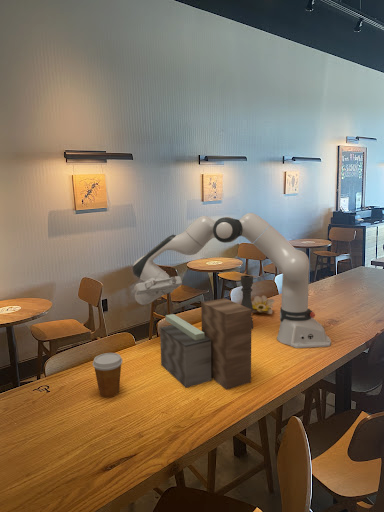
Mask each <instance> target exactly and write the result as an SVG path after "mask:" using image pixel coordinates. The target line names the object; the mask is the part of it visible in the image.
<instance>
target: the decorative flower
mask: <svg viewBox="0 0 384 512" xmlns="http://www.w3.org/2000/svg"><path fill="white" fill-rule="evenodd" d="M267 298H268V297H267V296H266V295H262V296H259V295H255V296H254V297H253V300H251V301H252V306H253V311H252V314H255V313H258V314H263V313H265V314H267V315H271V314H273V311H274V310H273V309H272V308H274V305H273V304H274V303H275V302H276V300H275V299H273V298H268V299H267Z"/></svg>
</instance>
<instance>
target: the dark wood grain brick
mask: <svg viewBox="0 0 384 512" xmlns="http://www.w3.org/2000/svg"><path fill="white" fill-rule="evenodd" d="M159 334H160V336H159V337H160V338H159V339H160V364H161V366H162V367H163V368H164V369H165V370H166V371H167V372H168V373H169V374H171V376H173V377H174V378H175V380H177V381H178V382H179V383H180V384H181V385H182V386H183V387H184V388H191V387H195V386H197V385H201V384H204V383H207V382H211V381H212V378H211V339H209V338H208V337H206V336H205V338H204V339H199V340H194V339H193V338H191V337H190V336H188V335H187V334H185V333H184V332H182V331H181V330H179V329H178V328H176V327H175V326H173V325H172V324H169V325H165V326H160V327H159Z"/></svg>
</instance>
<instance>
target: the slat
mask: <svg viewBox="0 0 384 512" xmlns="http://www.w3.org/2000/svg"><path fill="white" fill-rule="evenodd" d="M165 322H168V323H169V325H173V326H175V327H176V328H178V329H179V330H181V331H182V332H184V333H185V334H187V335H188V336H190V337H191V338H193V339H194V340H199V339H204V338H205V336H204V332H202V329H199V328H197V327H196V326H194V325H192V324H191V323H189V322H188V321H186V320H184V319H182V318H180V317H179V316H177V315H176V314H174V313H171V314H166V315H165Z"/></svg>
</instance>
